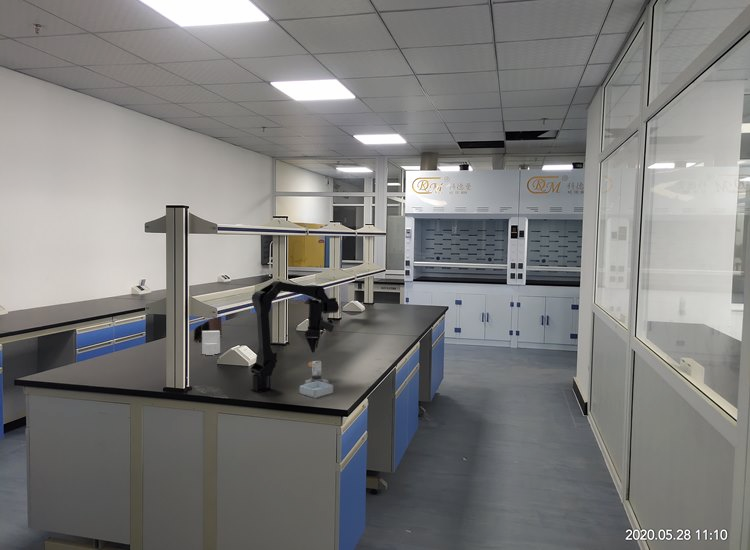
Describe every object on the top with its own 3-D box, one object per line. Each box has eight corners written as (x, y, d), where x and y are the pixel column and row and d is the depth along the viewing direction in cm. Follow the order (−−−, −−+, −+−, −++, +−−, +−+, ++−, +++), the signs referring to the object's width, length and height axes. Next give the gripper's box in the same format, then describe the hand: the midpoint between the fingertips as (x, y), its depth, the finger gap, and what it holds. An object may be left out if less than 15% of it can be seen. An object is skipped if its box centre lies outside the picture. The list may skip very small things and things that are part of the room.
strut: (316, 379, 219) (316, 363, 219) (306, 377, 223) (306, 360, 223) (323, 378, 222) (323, 361, 222) (313, 375, 226) (313, 359, 226)
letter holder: (221, 336, 327) (221, 314, 326) (210, 342, 307) (210, 318, 306) (206, 336, 328) (206, 313, 327) (193, 342, 308) (193, 318, 307)
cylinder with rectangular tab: (201, 355, 272) (200, 332, 271) (203, 352, 281) (203, 330, 280) (219, 355, 274) (219, 332, 273) (220, 351, 283) (220, 329, 282)
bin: (314, 397, 202) (314, 390, 202) (299, 393, 208) (299, 385, 208) (333, 392, 210) (333, 385, 210) (317, 388, 216) (317, 380, 216)
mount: (316, 387, 217) (316, 381, 217) (304, 384, 222) (304, 378, 222) (328, 383, 223) (328, 378, 222) (317, 380, 227) (317, 375, 227)
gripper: (332, 317, 217) (331, 355, 218) (335, 312, 236) (335, 346, 236) (305, 317, 217) (304, 354, 218) (311, 311, 236) (310, 346, 237)
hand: (314, 350), depth 227 cm, fingers open, 9 cm apart
